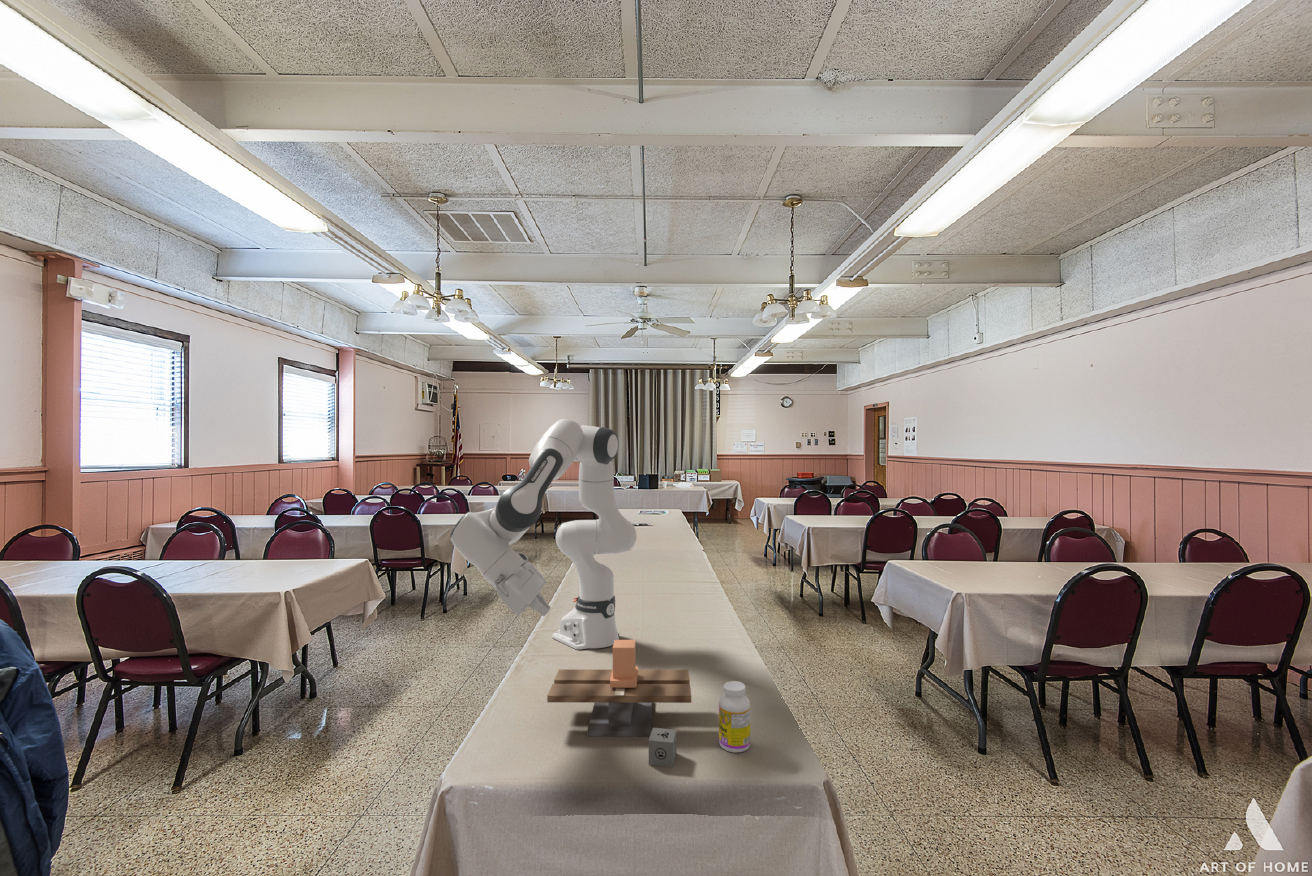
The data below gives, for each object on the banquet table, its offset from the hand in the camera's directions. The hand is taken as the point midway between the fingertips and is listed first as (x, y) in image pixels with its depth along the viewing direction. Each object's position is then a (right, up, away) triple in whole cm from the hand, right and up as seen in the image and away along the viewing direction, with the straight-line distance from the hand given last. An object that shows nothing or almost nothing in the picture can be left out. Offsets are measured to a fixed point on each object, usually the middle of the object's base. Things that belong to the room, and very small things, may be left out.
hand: (547, 612), depth 132 cm
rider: (+18, -17, 0) cm, 25 cm away
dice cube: (+27, -25, -17) cm, 40 cm away
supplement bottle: (+42, -25, -12) cm, 50 cm away
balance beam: (+17, -25, 0) cm, 30 cm away
